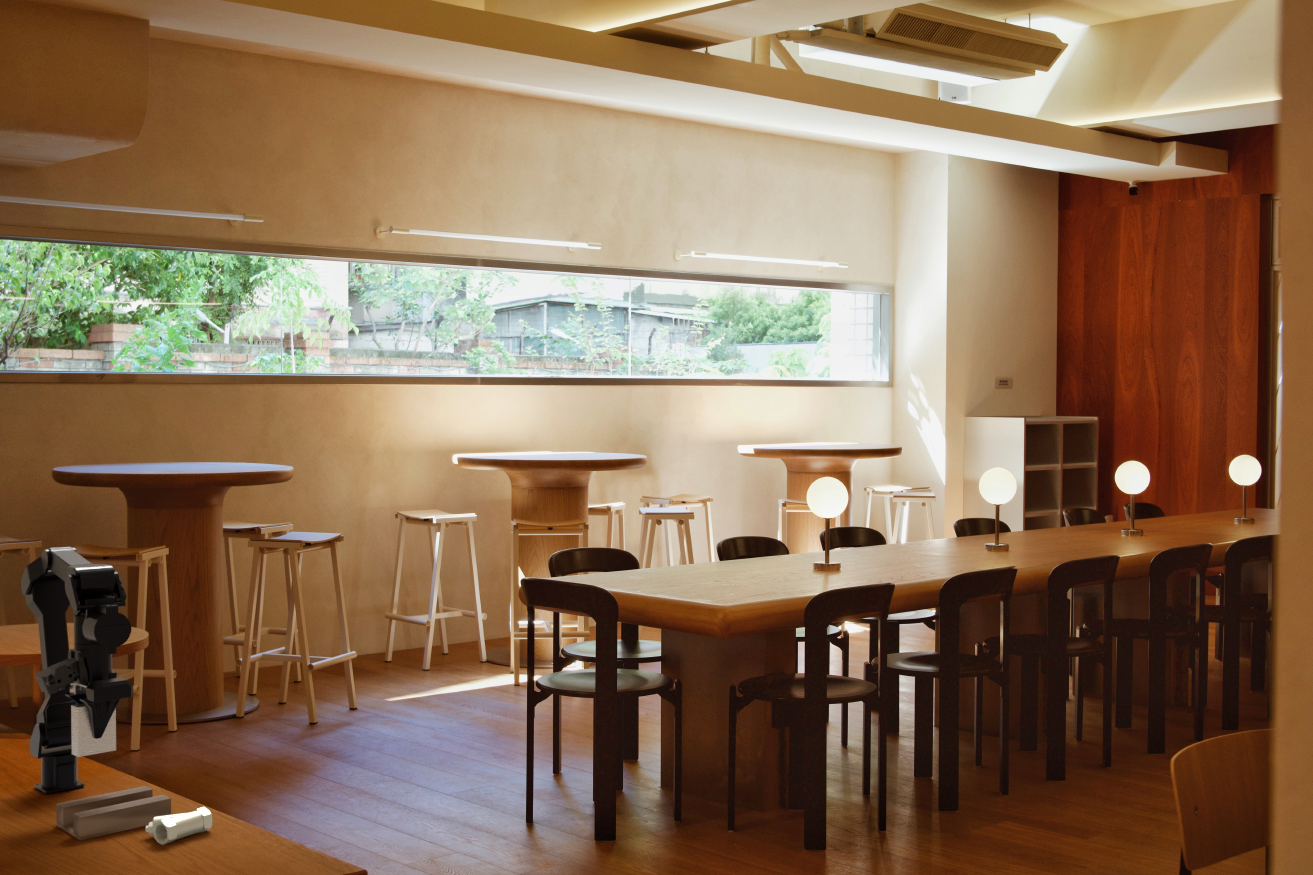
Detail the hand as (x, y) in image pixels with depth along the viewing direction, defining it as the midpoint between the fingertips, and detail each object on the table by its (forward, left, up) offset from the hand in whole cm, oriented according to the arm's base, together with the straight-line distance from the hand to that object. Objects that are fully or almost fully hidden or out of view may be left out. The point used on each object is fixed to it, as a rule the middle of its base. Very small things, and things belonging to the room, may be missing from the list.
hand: (94, 736), depth 200 cm
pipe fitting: (+22, +5, -13) cm, 26 cm away
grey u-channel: (+8, 0, -12) cm, 15 cm away
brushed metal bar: (0, 0, -3) cm, 2 cm away
